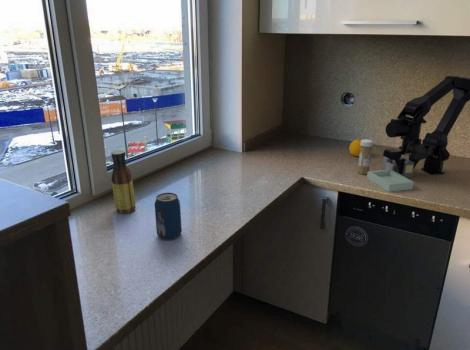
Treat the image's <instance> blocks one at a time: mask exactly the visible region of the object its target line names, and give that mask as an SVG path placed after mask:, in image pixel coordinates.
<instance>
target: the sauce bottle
mask: <svg viewBox="0 0 470 350" xmlns="http://www.w3.org/2000/svg"><path fill="white" fill-rule="evenodd" d="M110 155H111V158H112V164H113V165H112V166H113V168H112V173H111V178H110V180H111V185H112V192H113V200H114V205H115V209H116V212H117V213H119V214H123V215H124V214H128V213H129V214H130V213H133V212H134V211H135V210H136V197H135V191H134V184H133V183H134V182H133V177H132V172H131V170H130V168H129V167H128V166H127V163H126V151H125V150H123V149H118V150H116V149H115V150H113V151H111V154H110Z"/></svg>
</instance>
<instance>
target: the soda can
mask: <svg viewBox="0 0 470 350" xmlns="http://www.w3.org/2000/svg"><path fill="white" fill-rule="evenodd" d="M154 212H155V213H154V215H155V227H156V234H157V236H158V237H159V238H160V239H161V240H162V241H174V240H176V239H178V238H179V237H180V235H181V234H182V217H181V216H182V214H181V213H182V212H181V200H180V199H179V197H178V195H177V194H176V193H174V192H163V193H160V194H158V195H157V196H156V197H155V202H154Z"/></svg>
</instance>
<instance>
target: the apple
mask: <svg viewBox="0 0 470 350" xmlns="http://www.w3.org/2000/svg"><path fill="white" fill-rule="evenodd" d="M361 140H362V139H355V140H353V141H352V142H350V145H349V148H348V149H349V152H350V154H351V155H352V156H354V157H359V155H360V148H361V145H360V143H361Z"/></svg>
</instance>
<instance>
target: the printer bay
mask: <svg viewBox="0 0 470 350" xmlns="http://www.w3.org/2000/svg"><path fill="white" fill-rule="evenodd" d="M381 168H382V169H381V170H389V169H391V170H393V171H394V168H395V165H393V164H392V160H391V159H389V158H387V157H385V156H383V158H382V166H381Z"/></svg>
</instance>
